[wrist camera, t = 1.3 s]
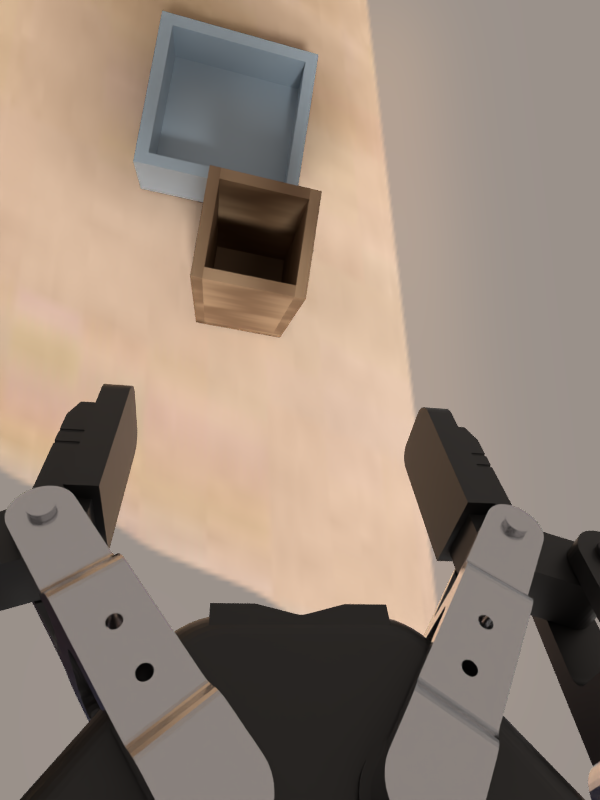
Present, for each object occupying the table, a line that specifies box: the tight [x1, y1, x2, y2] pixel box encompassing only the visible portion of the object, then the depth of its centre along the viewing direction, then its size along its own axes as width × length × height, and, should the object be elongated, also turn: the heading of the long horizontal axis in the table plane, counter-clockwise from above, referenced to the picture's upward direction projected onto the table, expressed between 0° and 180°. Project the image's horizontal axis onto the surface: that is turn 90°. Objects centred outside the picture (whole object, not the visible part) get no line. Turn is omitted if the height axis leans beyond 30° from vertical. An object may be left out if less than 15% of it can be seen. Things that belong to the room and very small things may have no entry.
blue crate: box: [133, 11, 318, 202], centre depth 35 cm, size 11×11×4 cm
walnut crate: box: [190, 165, 322, 337], centre depth 31 cm, size 6×6×10 cm
